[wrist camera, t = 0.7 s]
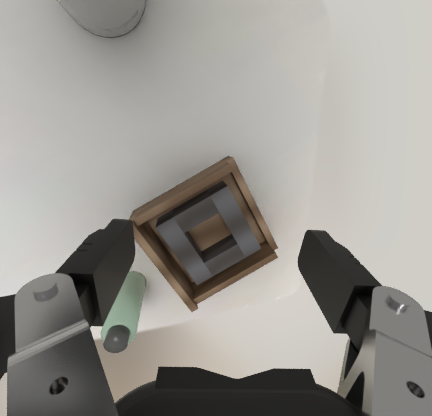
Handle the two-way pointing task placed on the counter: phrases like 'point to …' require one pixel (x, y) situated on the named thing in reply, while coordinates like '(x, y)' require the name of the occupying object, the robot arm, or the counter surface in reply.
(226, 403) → the robot arm
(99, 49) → the counter surface
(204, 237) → the box
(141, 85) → the counter surface
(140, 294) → the mint green cylinder
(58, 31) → the counter surface
